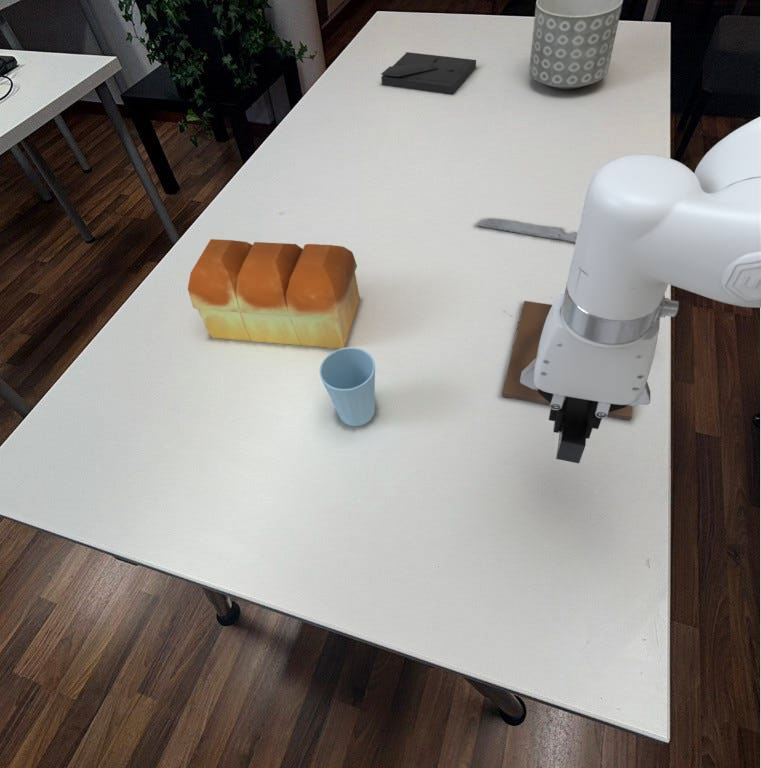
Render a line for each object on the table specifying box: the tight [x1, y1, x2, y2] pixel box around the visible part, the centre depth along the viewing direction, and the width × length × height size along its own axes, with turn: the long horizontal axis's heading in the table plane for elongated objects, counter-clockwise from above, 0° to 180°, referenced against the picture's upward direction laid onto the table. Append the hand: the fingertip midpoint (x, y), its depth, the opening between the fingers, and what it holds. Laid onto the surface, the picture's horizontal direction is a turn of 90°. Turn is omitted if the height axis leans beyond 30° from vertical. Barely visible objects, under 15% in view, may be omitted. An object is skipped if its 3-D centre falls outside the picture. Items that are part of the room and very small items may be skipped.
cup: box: [319, 346, 376, 427], centre depth 80 cm, size 8×8×10 cm
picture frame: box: [380, 51, 477, 95], centre depth 150 cm, size 16×3×21 cm
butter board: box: [502, 300, 633, 421], centre depth 86 cm, size 18×20×1 cm
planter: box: [528, 0, 624, 91], centre depth 134 cm, size 19×19×18 cm
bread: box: [187, 238, 361, 350], centre depth 93 cm, size 25×12×15 cm, turn 79°
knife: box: [476, 218, 578, 244], centre depth 106 cm, size 25×1×5 cm
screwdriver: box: [555, 397, 589, 464], centre depth 64 cm, size 19×2×4 cm, turn 163°
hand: (572, 424), depth 62 cm, fingers closed on screwdriver, 2 cm apart
